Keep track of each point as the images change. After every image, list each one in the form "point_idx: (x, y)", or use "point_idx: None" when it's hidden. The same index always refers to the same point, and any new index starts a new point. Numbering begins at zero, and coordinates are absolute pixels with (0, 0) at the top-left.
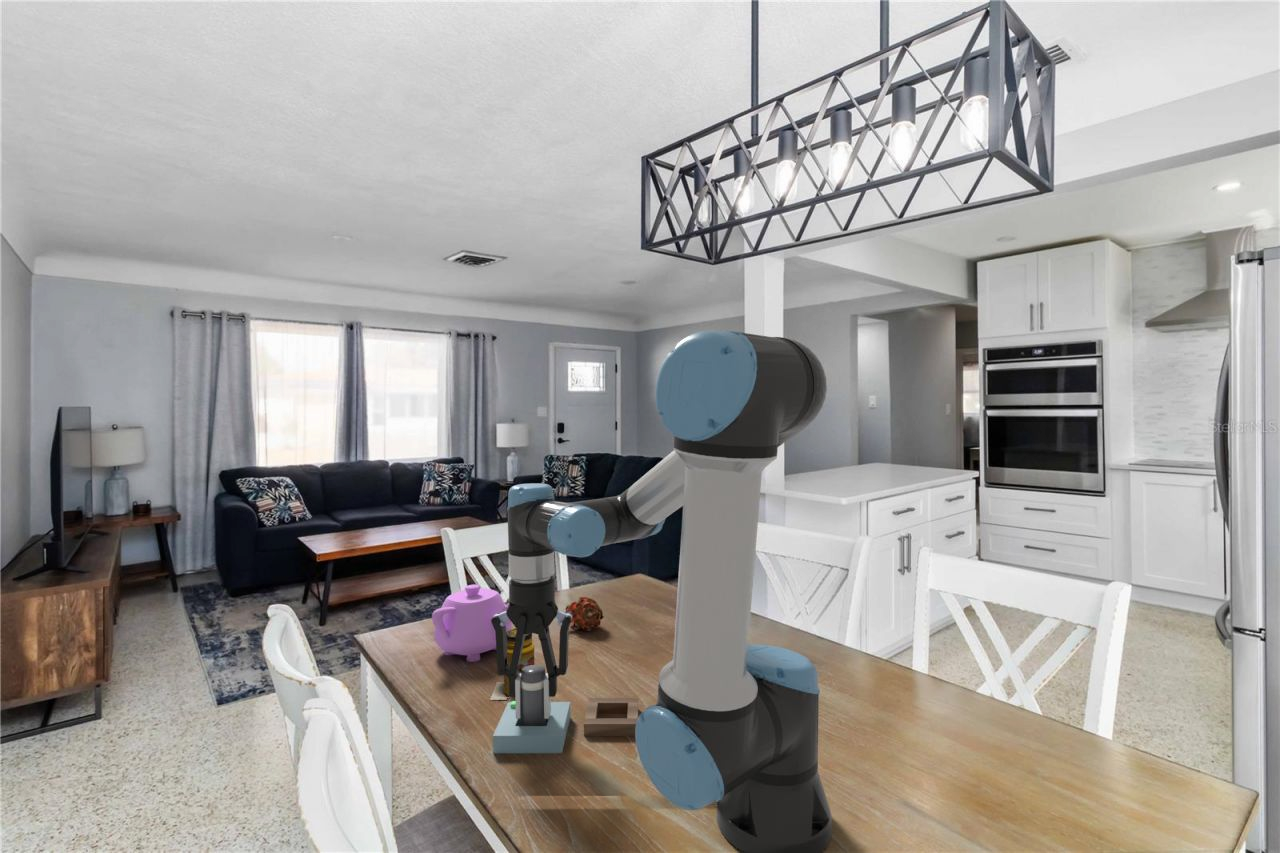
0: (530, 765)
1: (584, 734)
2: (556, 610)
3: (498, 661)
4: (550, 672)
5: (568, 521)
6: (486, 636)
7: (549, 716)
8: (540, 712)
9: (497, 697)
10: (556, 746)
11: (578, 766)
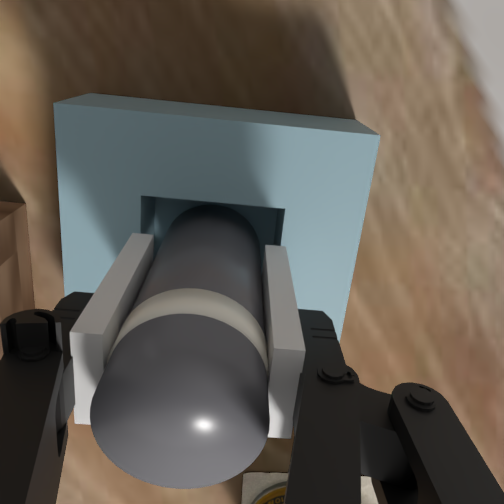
0: (210, 70)
1: (9, 213)
2: None
3: (475, 469)
4: (31, 368)
5: None
6: None
7: None
8: (166, 247)
9: (365, 488)
10: (96, 100)
11: (17, 42)
